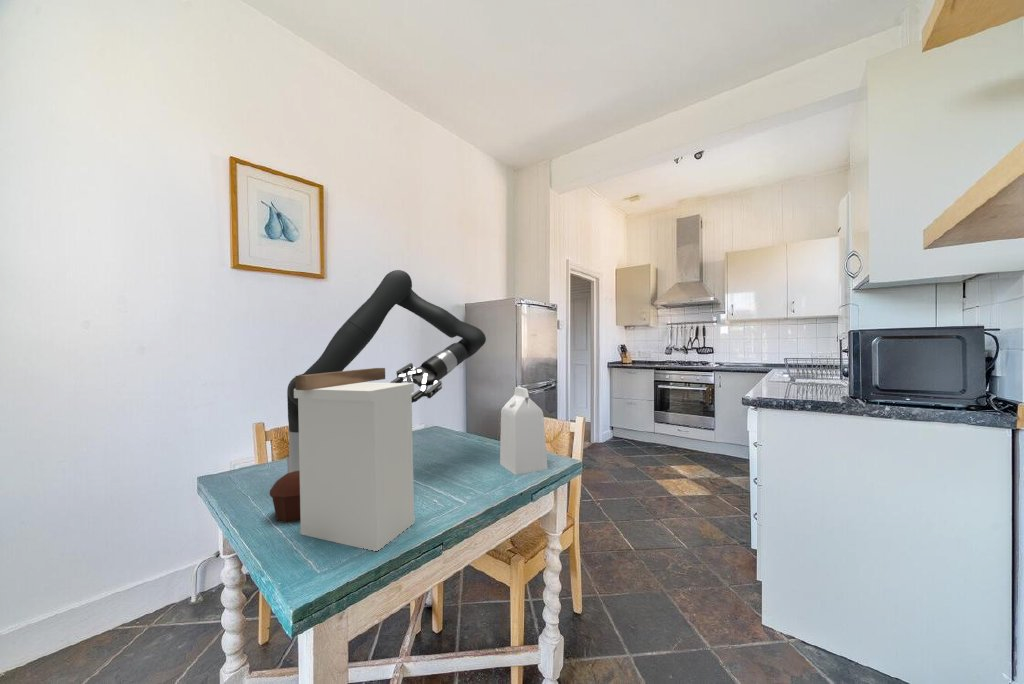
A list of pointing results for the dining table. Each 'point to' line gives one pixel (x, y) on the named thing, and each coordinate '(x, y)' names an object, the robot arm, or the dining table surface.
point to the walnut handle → (338, 378)
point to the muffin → (287, 497)
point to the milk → (522, 435)
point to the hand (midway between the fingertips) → (400, 393)
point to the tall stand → (356, 463)
